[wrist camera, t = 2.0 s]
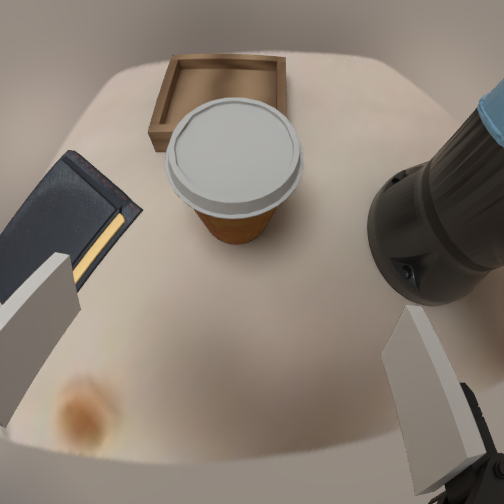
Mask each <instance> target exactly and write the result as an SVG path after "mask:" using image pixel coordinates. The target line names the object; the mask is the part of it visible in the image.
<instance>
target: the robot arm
mask: <svg viewBox="0 0 504 504" xmlns="http://www.w3.org/2000/svg"><path fill="white" fill-rule="evenodd" d="M368 238H369V243H370V248H371V251H372V254H373V257H374V259H375V262H376V264H377V266H378V268H379V270H380V271H381V273H382V274H383V276H384V277H385V279H386V280H387V281H388V283H389V284H390V285H391V286H392V287H393V288H394V289H395V290H396V291H397V292H399V293H400V294H401V295H403V296H404V297H406V298H407V299H409V300H411V301H413V302H416V303H419V304H422V305H429V306H434V305H441V304H445V303H449V302H453V301H456V300H458V299H460V298H462V297H463V296H465V295H466V294H468V293H469V292H470V291H471V290H472V289H473V288H474V287H475V286H476V285H477V284H478V283H479V282H480V281H481V280H482V279H483V278H484V277H485V276H486V275H487V274H488V273H489V272H490V271H491V270H493V269H496V268H498V267H501V266H504V79H503V80H502V81H501V82H500V83H499V84H498V85H497V86H496V87H495V88H494V89H493V90H492V91H491V92H490V93H487V94H486V95H484V96H483V97H482V98H481V99H480V101H479V105H478V107H477V108H476V109H475V111H474V112H473V113H472V114H471V116H469V118H468V119H467V120H466V121H465V122H464V123H463V125H462V126H461V127H460V128H459V129H458V130H457V131H456V133H455V134H454V135H453V136H452V137H451V138H450V139H449V140H448V142H447V143H446V144H445V145H444V146H443V147H442V148H441V149H440V150H439V151H438V152H437V154H436V155H435V156H434V157H433V158H432V159H431V160H430V161H428V162H425V163H422V164H419V165H417V166H414V167H411V168H409V169H406V170H403V171H401V172H399V173H397V174H396V175H394V176H393V177H392V178H390V179H389V180H388V181H387V182H386V183H385V185H384V186H383V187H382V188H381V189H380V190H379V192H378V193H377V194H376V196H375V198H374V200H373V202H372V204H371V207H370V211H369V216H368ZM80 310H81V308H80V304H79V299H78V295H77V290H76V286H75V281H74V276H73V271H72V265H71V260H70V255H67V254H62V253H57V252H55V253H54V254H53V255H52V256H51V257H50V258H49V259H47V260H46V261H45V262H44V263H43V264H42V265H41V266H40V267H39V268H38V269H37V270H36V271H35V272H34V273H33V274H32V275H31V276H30V277H29V278H28V279H27V280H26V281H25V282H24V283H23V284H22V285H21V286H20V287H19V288H18V289H17V290H16V291H15V292H14V293H13V294H12V296H11V297H10V298H9V299H8V300H7V301H6V302H5V303H4V304H3V305H2V306H1V307H0V425H1V426H2V427H4V428H6V427H7V425H8V423H9V421H10V419H11V417H12V416H13V414H14V412H15V410H16V409H17V407H18V405H19V403H20V402H21V400H22V398H23V396H24V395H25V393H26V391H27V390H28V388H29V386H30V385H31V383H32V382H33V380H34V378H35V377H36V375H37V373H38V372H39V370H40V369H41V367H42V366H43V364H44V362H45V361H46V359H47V358H48V356H49V355H50V353H51V352H52V350H53V349H54V347H55V346H56V344H57V343H58V341H59V340H60V338H61V337H62V335H63V334H64V333H65V331H66V330H67V328H68V327H69V325H70V324H71V323H72V321H73V320H74V318H75V317H76V315H77V314H78V313H79V311H80ZM381 358H382V361H383V364H384V368H385V371H386V375H387V378H388V381H389V385H390V389H391V392H392V396H393V400H394V403H395V407H396V411H397V415H398V419H399V423H400V427H401V431H402V435H403V439H404V443H405V448H406V452H407V457H408V461H409V466H410V471H411V476H412V481H413V487H414V492H415V495H421V494H426V493H430V492H434V491H435V490H437V489H439V488H440V487H441V486H443V485H445V489H446V491H444V492H443V493H441V494H439V495H438V496H436V497H435V498H433V499H431V501H430V502H429V503H428V504H433V503H435V502H436V501H438V502H437V504H504V454H503V453H497V450H496V448H495V446H494V443H493V440H492V437H491V435H490V432H489V429H488V427H487V424H486V422H485V419H484V417H482V412H481V409H480V407H478V402H477V400H476V398H475V395H474V393H473V392H472V391H471V389H470V388H469V387H468V386H467V385H466V383H459V381H458V379H457V376H456V374H455V372H454V370H453V368H452V365H451V363H450V361H449V359H448V357H447V355H446V353H445V351H444V349H443V347H442V345H441V343H440V341H439V339H438V337H437V335H436V333H435V331H434V329H433V327H432V325H431V323H430V321H429V319H428V317H427V315H426V313H425V312H424V310H423V308H422V306H413V305H405V308H404V310H403V312H402V314H401V316H400V318H399V320H398V322H397V324H396V326H395V328H394V330H393V332H392V334H391V336H390V338H389V340H388V342H387V344H386V346H385V348H384V349H383V351H382V353H381Z"/></svg>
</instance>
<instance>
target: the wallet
mask: <svg viewBox="0 0 504 504" xmlns="http://www.w3.org/2000/svg"><path fill="white" fill-rule="evenodd" d="M142 211H143V209H142V208H140V207H139V206H138V205H137V204H135V203H134V202H133V201H132V200H131V199H130V198H129V197H128V196H127V195H126V194H125V193H124V192H123V191H122V190H121V189H120V188H118V187H117V186H116V185H115V184H114V183H113V182H111V181H110V180H109V179H108V178H107V177H106V176H104V175H103V174H102V173H101V172H100V171H99V170H97V169H96V168H95V167H94V166H93V165H92V164H90V163H89V162H88V161H87V160H86V159H85V158H83V157H82V156H81V155H80V154H78V153H77V152H76V151H72V150H68V151H67V152H66V153H65V154H64V155H63V156H62V157H61V158H60V159H59V160H58V161H57V162H56V163H55V164H54V166H53V167H52V168H51V169H50V170H49V171H48V173H47V174H46V175H45V176H44V177H43V179H42V180H41V181H40V182H39V184H38V185H37V186H36V187H35V189H34V190H33V191H32V193H31V194H30V195H29V196H28V198H27V199H26V201H25V202H24V203H23V204H22V206H21V207H20V209H19V210H18V211H17V212H16V214H15V215H14V217H13V218H12V219H11V221H10V222H9V223H8V225H7V226H6V228H5V229H4V231H3V232H2V233H1V235H0V302H1V304H2V305H3V304H4V303H5V302H6V301H7V300H8V299H9V298H10V297H11V296H12V294H13V293H14V292H15V291H16V290H17V289H18V288H19V287H20V286H21V285H22V284H23V283H24V282H25V281H26V280H27V279H28V278H29V277H30V276H31V275H32V274H33V273H34V272H35V271H36V270H37V269H38V268H39V267H40V266H41V265H42V264H43V263H44V262H45V261H46V260H47V259H49V258H50V257H51V256H52V255H53V254H54V253H55V252H57V253H62V254H67V255H70V260H71V265H72V271H73V276H74V281H75V286H76V290H77V293H78V291H79V290H80V289H81V287H82V286H83V285H84V283H85V282H86V281H87V279H88V278H89V277H90V275H91V274H92V273H93V271H94V270H95V269H96V267H97V266H98V265H99V263H100V262H101V261H102V260H103V258H104V257H105V256H106V255H107V253H108V252H109V251H110V250H111V248H112V247H113V246H114V245H115V243H116V242H117V241H118V240H119V238H120V237H121V236H122V235H123V234H124V232H125V231H126V230H127V229H128V228H129V226H130V225H131V224H132V223H133V222H134V220H135V219H136V218H137V217H138V216H139V215H140V213H141V212H142Z"/></svg>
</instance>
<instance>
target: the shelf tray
mask: <svg viewBox="0 0 504 504" xmlns="http://www.w3.org/2000/svg"><path fill="white" fill-rule="evenodd" d="M222 98H248V99H253V100H257V101H261V102H263V103H265V104H267V105H270V106H272V107H274V108H275V109H277V110H278V111H279V112H280V113H282V114H283V115H284V116H285V117H286V118H287V101H286V58H285V57H276V56H263V55H244V54H185V55H172V57H171V60H170V63H169V65H168V68H167V71H166V74H165V77H164V80H163V83H162V86H161V89H160V92H159V96H158V99H157V102H156V105H155V109H154V112H153V115H152V119H151V122H150V126H149V129H148V134H149V136H150V139H151V141H152V144H153V146H154V149H155V151H156V152H166V151H167V148H168V145H169V143H170V139H171V136H172V133H173V132H174V130H175V128H176V127H177V125H178V123H179V122H180V121H181V120H182V119H183V118H184V117H185V116H186V115H187V114H188V113H190V112H191V111H193V110H194V109H196V108H197V107H199V106H200V105H202V104H205V103H207V102H210V101H213V100H217V99H222Z"/></svg>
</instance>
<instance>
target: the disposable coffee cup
mask: <svg viewBox="0 0 504 504" xmlns="http://www.w3.org/2000/svg"><path fill="white" fill-rule="evenodd" d="M165 169H166V173H167V177H168V180H169V182H170V184H171V186H172V188H173V190H174V192H175V193H176V194H177V196H178V197H180V198H181V199H182V200H183V201H184V202H185V203H186V204H187V205H188V206H190V207H192V208H193V209H194V210H195V212H196V213H197V214H198V216H199V217H200V219H201V220H202V221H203V223H204V224H205V225H206V227H207V228H208V230H209V231H210V232H211V233H212V235H213V236H215V237H216V238H217V239H219V240H221V241H223V242H225V243H229V244H243V243H246V242H249V241H251V240H253V239H255V238H256V237H257V236H259V235H260V234H261V232H262V231H263V230H264V228H265V226H266V225H267V223H268V222H269V220H270V218H271V217H272V215H273V213H274V212H275V210H276V208H277V207H278V205H279V204H281V203H282V202H283V201H285V200H286V198H287V197H288V196H289V195H290V194H291V193H292V192H293V191H294V189H295V188H296V186H297V184H298V182H299V180H300V177H301V174H302V170H303V150H302V146H301V143H300V141H299V139H298V137H297V134H296V131H295V129H294V128H293V126H292V124H291V123H290V122H289V120H288V119H287V118H286V117H285V116H284V115H283V114H282V113H280V112H279V111H278V110H277V109H275V108H274V107H272V106H270V105H267V104H265V103H263V102H261V101H257V100H253V99H248V98H222V99H217V100H213V101H210V102H207V103H205V104H202V105H200V106H199V107H197V108H196V109H194V110H193V111H191V112H190V113H188V114H187V115H186V116H185V117H184V118H183V119H182V120H181V121H180V122H179V123H178V125H177V127H176V128H175V130H174V132H173V133H172V136H171V139H170V143H169V145H168V148H167V151H166V157H165Z"/></svg>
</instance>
